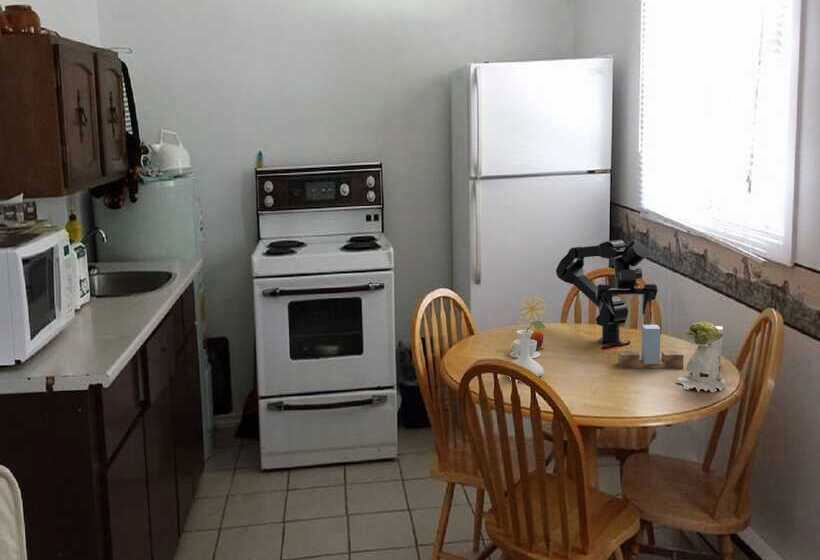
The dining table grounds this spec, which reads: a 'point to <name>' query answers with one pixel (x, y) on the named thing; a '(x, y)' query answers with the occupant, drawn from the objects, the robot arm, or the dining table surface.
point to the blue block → (650, 344)
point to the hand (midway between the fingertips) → (628, 314)
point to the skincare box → (718, 344)
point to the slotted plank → (667, 361)
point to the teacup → (518, 348)
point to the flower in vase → (530, 311)
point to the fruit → (537, 337)
